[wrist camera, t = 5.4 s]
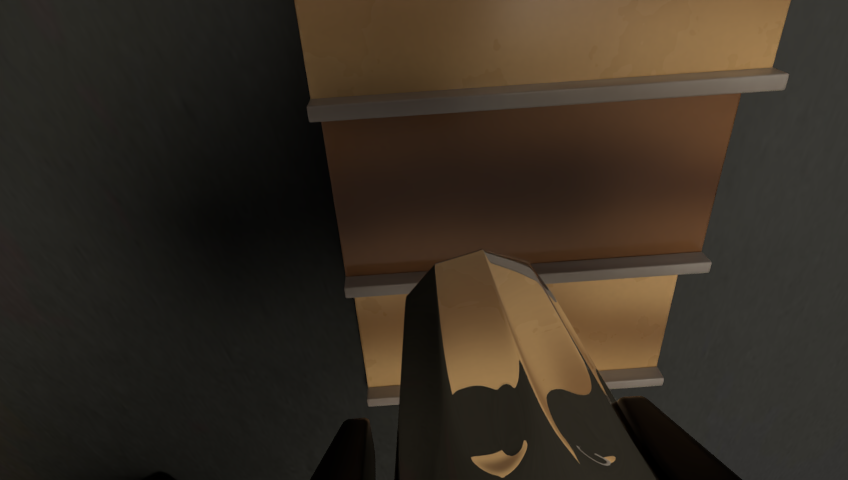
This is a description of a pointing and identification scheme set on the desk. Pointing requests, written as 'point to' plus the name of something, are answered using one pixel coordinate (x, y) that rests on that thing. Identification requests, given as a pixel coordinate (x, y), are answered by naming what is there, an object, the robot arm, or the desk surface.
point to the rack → (531, 151)
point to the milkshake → (503, 383)
